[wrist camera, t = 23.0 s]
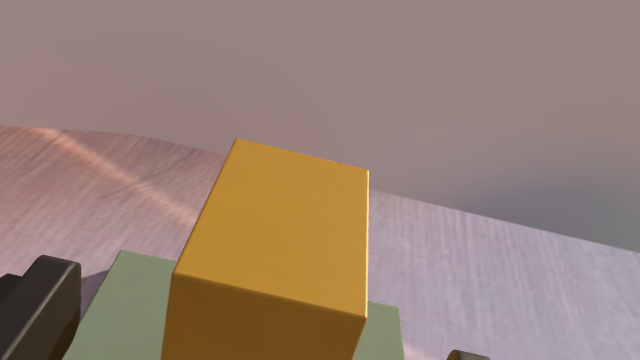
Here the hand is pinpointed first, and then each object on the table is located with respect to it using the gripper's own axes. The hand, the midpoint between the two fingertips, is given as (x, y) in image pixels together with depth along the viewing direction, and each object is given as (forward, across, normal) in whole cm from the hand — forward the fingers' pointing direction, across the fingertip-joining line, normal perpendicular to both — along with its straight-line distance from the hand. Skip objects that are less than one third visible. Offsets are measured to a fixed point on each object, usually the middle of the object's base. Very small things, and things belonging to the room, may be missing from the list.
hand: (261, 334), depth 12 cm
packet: (+4, 0, +10) cm, 11 cm away
